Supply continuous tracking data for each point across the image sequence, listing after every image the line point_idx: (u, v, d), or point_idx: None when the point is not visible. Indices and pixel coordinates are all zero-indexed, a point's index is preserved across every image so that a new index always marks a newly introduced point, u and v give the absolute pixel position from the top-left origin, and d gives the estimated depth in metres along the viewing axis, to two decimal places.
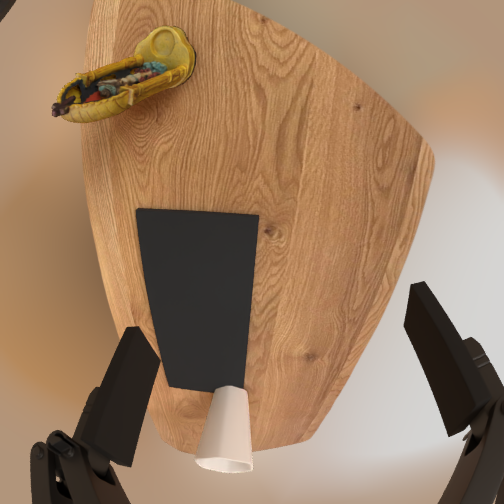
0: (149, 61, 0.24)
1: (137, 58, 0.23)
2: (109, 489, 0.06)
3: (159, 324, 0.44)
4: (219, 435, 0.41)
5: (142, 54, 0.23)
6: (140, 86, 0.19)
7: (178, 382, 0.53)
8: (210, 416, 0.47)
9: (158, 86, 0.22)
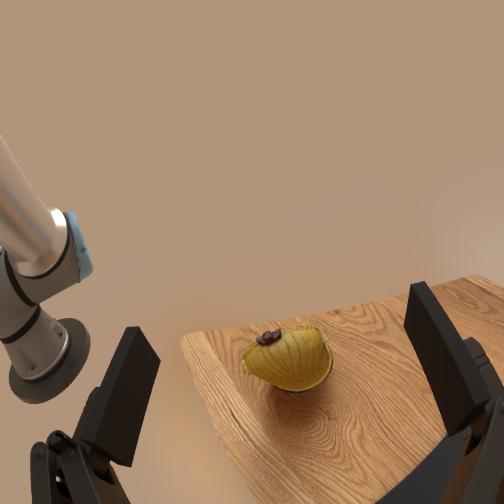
0: None
1: None
2: (109, 489, 0.06)
3: None
4: None
5: None
6: None
7: None
8: None
9: (325, 350, 0.26)
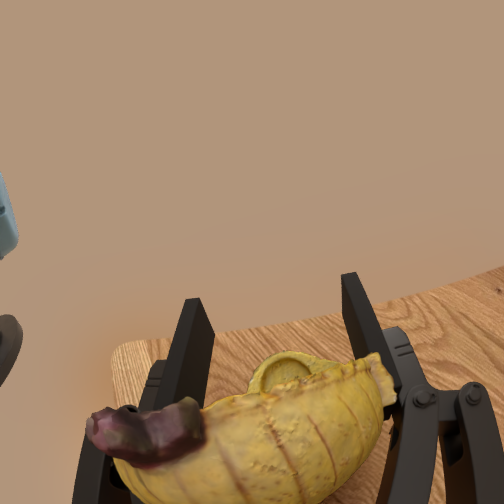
0: None
1: None
2: None
3: None
4: None
5: None
6: None
7: None
8: None
9: None
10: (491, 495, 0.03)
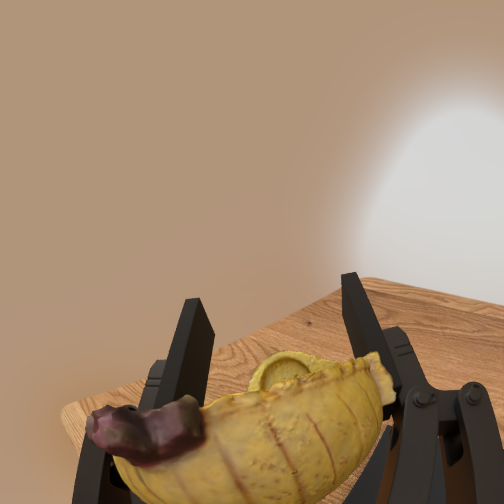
0: None
1: None
2: None
3: None
4: None
5: None
6: None
7: None
8: None
9: None
10: (491, 495, 0.03)
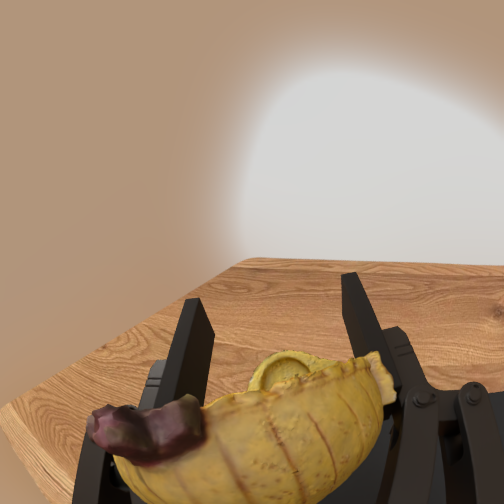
0: None
1: None
2: None
3: None
4: None
5: None
6: None
7: None
8: None
9: None
10: (491, 495, 0.03)
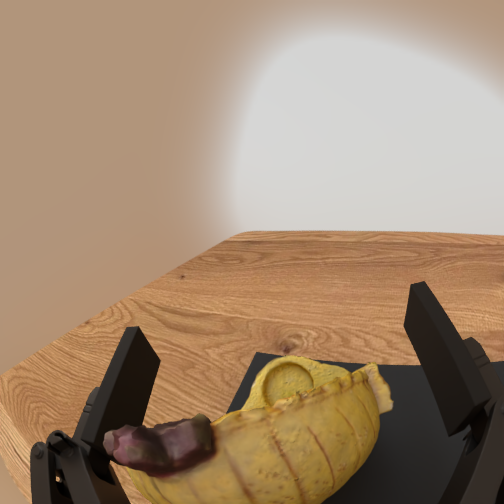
0: None
1: None
2: (109, 489, 0.06)
3: None
4: None
5: None
6: None
7: None
8: None
9: None
10: None
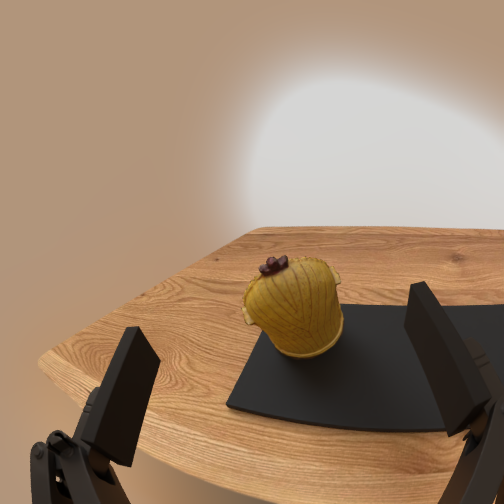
0: None
1: None
2: (109, 489, 0.06)
3: (439, 416, 0.17)
4: None
5: None
6: None
7: None
8: None
9: (337, 302, 0.24)
10: None
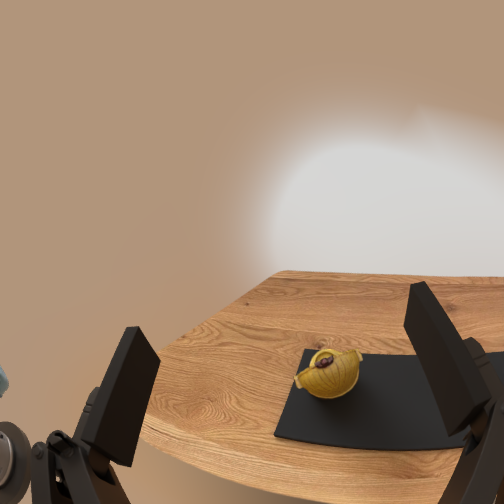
0: None
1: None
2: (109, 489, 0.06)
3: (423, 440, 0.24)
4: None
5: None
6: None
7: None
8: None
9: None
10: None
